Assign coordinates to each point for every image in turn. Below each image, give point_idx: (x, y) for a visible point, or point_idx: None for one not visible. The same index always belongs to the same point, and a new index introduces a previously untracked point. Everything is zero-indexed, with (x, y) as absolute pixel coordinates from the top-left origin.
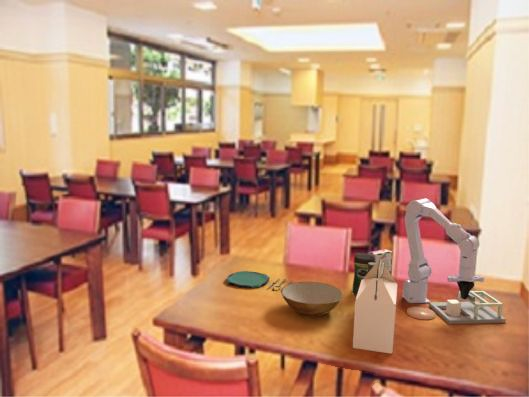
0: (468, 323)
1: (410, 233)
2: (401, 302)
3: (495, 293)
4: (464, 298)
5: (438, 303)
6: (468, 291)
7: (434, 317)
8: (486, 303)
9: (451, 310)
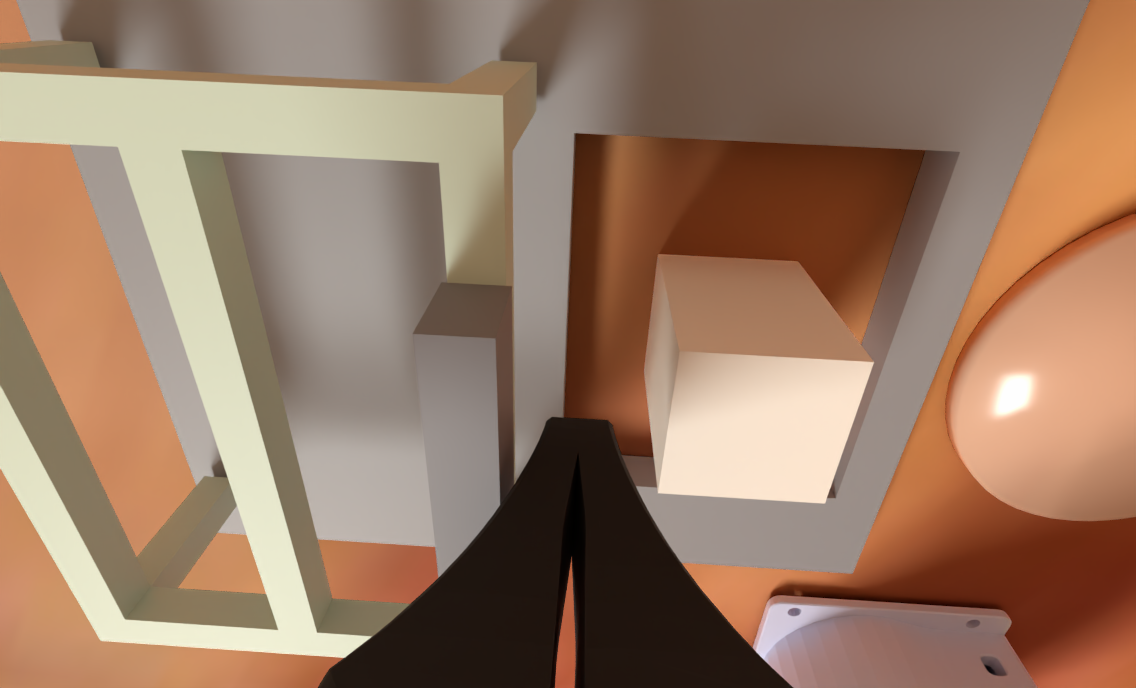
0: None
1: None
2: (1061, 630)
3: (8, 666)
4: (597, 429)
5: (760, 542)
6: (520, 534)
7: (1076, 244)
8: (201, 122)
9: (820, 300)
